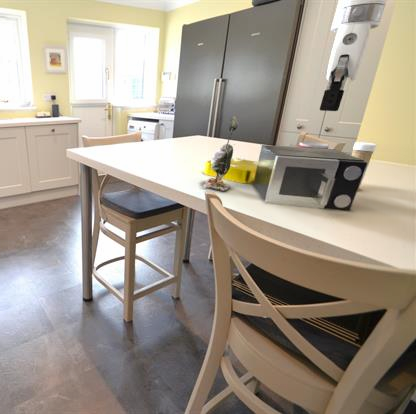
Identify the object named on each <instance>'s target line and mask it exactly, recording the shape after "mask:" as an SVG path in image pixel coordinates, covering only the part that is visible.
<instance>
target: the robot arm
mask: <svg viewBox="0 0 416 414" xmlns="http://www.w3.org/2000/svg"><path fill="white" fill-rule="evenodd" d="M387 1H388V0H338V3H337V6H336V10H335V13H334V17H333V20H332V25H331V28H330V31H331V32H334V33H336V35H335V39H334V42H333V45H332V49H331V53H330V57H329V61H328V66H327V73H326V80H327V81H328V83H327V87H326V89H325V90H324V92H323V95H322V99H321V104H320V106H319V110H320V111H322V112H338V111H339V109H340V106H341V103H342V100H343V97H344V93H345V90H344V88H345V85H346V82H347V79H350V81H349V82H354V81H355V80H356V79H357V75H358V72H359V69H360V66H361V63H362V60H363V57H364V53H365V52H366V51H365V50H366V48H367V44H368V41H369V38H370V32H371V30H372V29H376V28H378V27H379V25H380V23H381V20H382V17H383V13H384V11H385V7H386V4H387Z"/></svg>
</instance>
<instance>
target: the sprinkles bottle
mask: <svg viewBox="0 0 416 414" xmlns="http://www.w3.org/2000/svg"><path fill="white" fill-rule="evenodd" d="M376 148H377V143H372V142H367V141H355V142H354V144H353V147H352V153H351V154H350V155H351V156H354V157H357V158H359V159H362V160H364V162H367V166H366V168H365V171H364V174H363V176H362V179H361V182H360V184H359V187H358V190H357V192H358V191H360V188H361V185H362V182H363V180H364V178H365V176H366V172H367V170H368V167H369V165H370V161H371V159H372V156H373V154H374V152H375V150H376Z"/></svg>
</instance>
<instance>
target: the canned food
mask: <svg viewBox="0 0 416 414" xmlns="http://www.w3.org/2000/svg"><path fill="white" fill-rule="evenodd" d="M298 147H304V148H322V149H329V147H330V146H329V144H327V143H323V142H317V141H301V142H299V145H298Z"/></svg>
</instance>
